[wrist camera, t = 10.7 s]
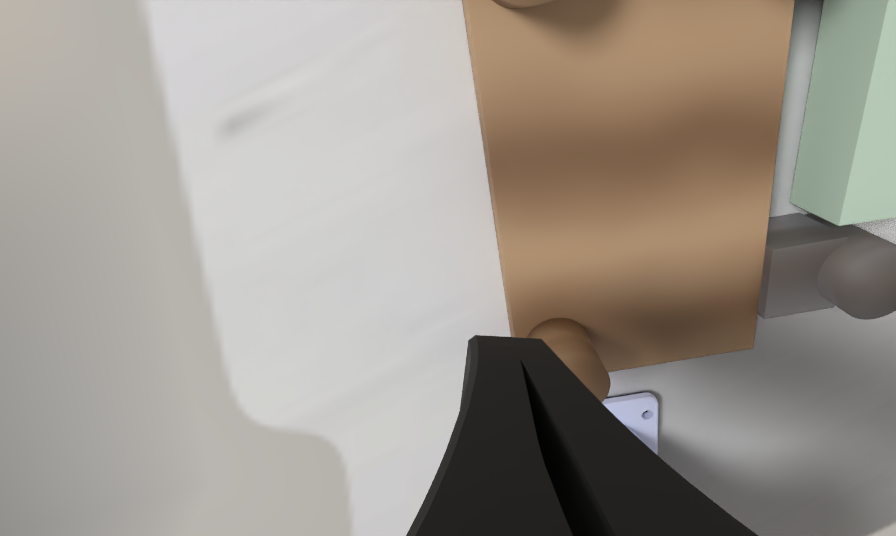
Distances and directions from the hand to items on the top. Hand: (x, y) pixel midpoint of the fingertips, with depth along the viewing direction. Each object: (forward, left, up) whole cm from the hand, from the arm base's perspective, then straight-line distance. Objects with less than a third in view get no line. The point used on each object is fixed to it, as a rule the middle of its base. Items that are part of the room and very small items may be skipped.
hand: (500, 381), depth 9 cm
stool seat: (+1, -8, -10) cm, 13 cm away
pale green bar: (+2, -13, -10) cm, 17 cm away
